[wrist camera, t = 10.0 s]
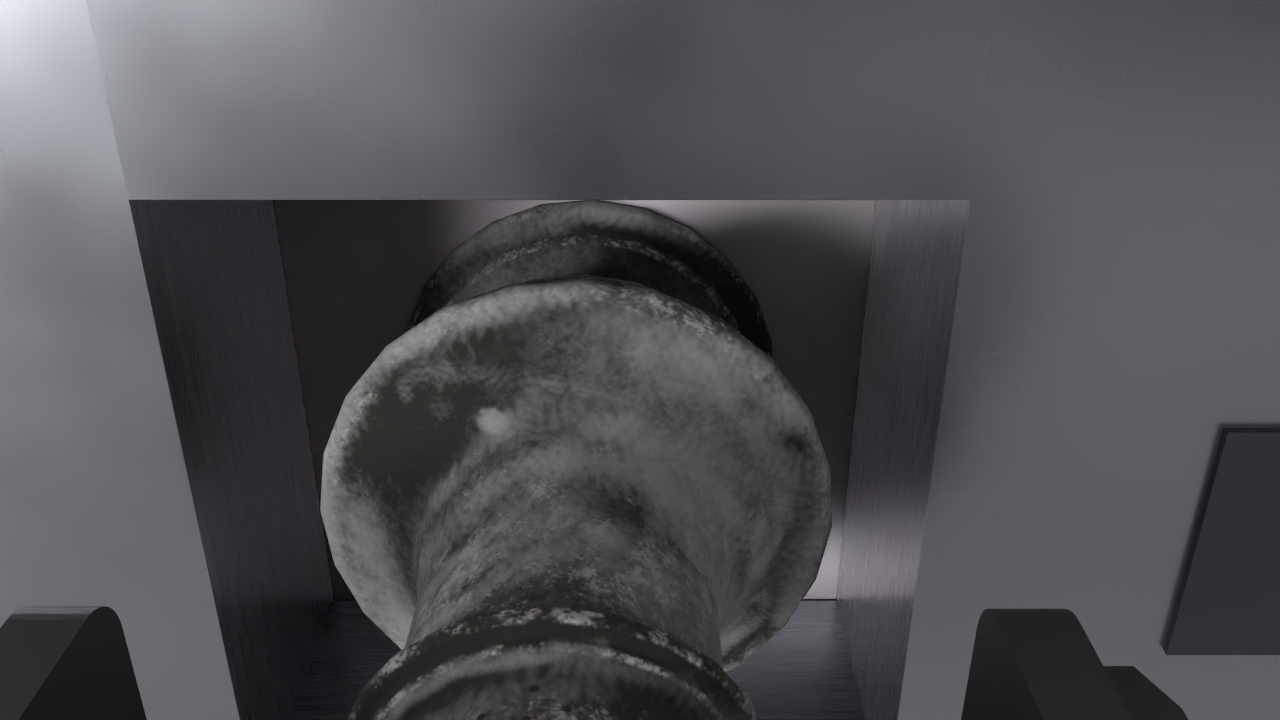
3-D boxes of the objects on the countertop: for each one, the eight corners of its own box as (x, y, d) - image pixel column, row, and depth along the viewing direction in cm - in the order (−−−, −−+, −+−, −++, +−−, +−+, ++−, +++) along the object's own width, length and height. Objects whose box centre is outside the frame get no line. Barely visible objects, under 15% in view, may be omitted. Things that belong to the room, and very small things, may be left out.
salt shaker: (774, 549, 17) (996, 1764, 7) (395, 538, 17) (-4, 1753, 6) (815, 187, 15) (1297, 1221, 4) (369, 169, 15) (-378, 1190, 4)
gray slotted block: (1589, -113, 13) (1960, -80, 9) (1295, 717, 19) (1453, 938, 15) (-462, -115, 13) (-891, -82, 9) (-121, 719, 19) (-304, 939, 15)
